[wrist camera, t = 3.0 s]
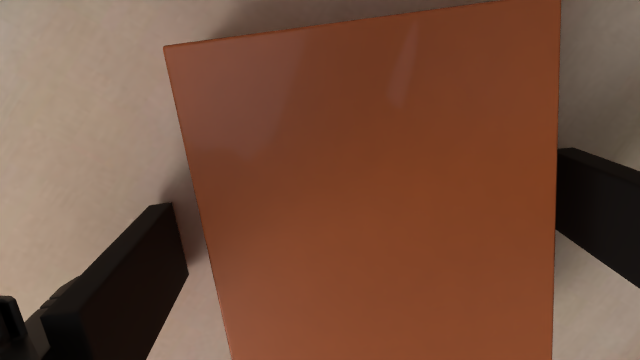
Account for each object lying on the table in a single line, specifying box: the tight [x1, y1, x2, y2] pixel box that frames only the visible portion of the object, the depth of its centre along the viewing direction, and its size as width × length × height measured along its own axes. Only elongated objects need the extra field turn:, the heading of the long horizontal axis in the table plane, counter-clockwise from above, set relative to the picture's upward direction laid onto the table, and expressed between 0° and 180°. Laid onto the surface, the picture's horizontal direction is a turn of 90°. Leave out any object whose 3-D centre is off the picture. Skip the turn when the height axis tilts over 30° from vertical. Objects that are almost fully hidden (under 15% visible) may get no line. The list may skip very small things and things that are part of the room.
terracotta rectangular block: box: [163, 0, 561, 360], centre depth 14 cm, size 12×9×4 cm
